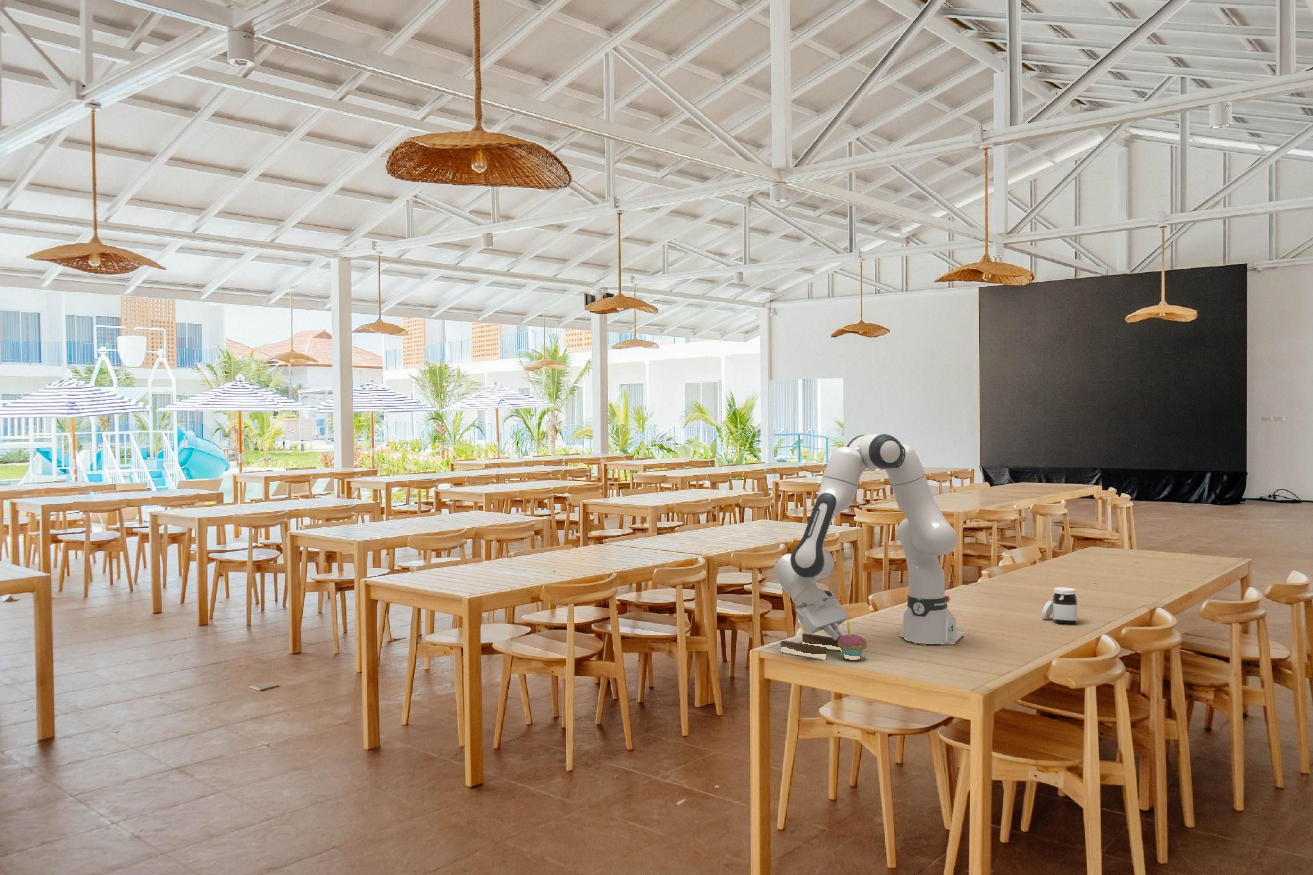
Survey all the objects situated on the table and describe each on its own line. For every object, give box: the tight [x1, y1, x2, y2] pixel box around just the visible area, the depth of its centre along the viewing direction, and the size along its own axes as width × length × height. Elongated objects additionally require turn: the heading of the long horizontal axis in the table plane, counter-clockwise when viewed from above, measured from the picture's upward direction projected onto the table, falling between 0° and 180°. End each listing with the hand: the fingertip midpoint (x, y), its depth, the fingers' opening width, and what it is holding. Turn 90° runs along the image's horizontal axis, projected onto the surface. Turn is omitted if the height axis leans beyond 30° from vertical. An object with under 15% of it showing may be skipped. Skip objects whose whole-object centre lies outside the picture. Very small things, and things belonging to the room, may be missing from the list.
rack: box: [780, 632, 839, 654], centre depth 296 cm, size 14×15×4 cm
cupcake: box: [838, 618, 868, 656], centre depth 287 cm, size 9×8×12 cm
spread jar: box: [1040, 586, 1078, 625], centre depth 335 cm, size 12×11×12 cm
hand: (839, 638), depth 290 cm, fingers closed, pressing on cupcake
